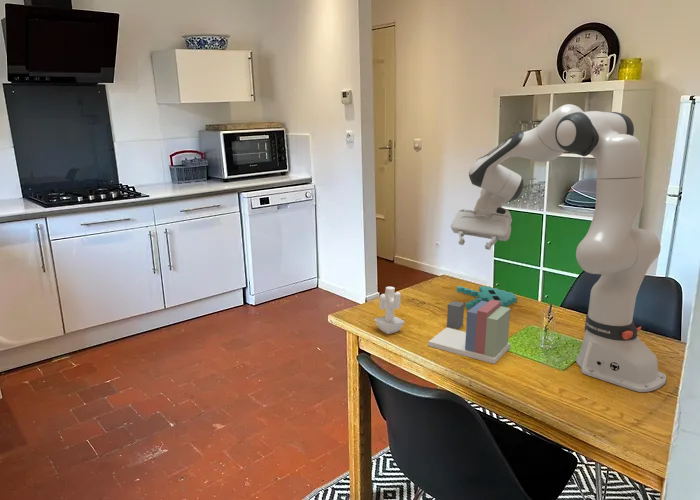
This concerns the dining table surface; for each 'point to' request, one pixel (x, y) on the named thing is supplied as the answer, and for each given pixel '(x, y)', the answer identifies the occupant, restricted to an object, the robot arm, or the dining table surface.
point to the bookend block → (455, 315)
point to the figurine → (389, 311)
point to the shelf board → (459, 345)
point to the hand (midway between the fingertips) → (473, 246)
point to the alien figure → (488, 296)
